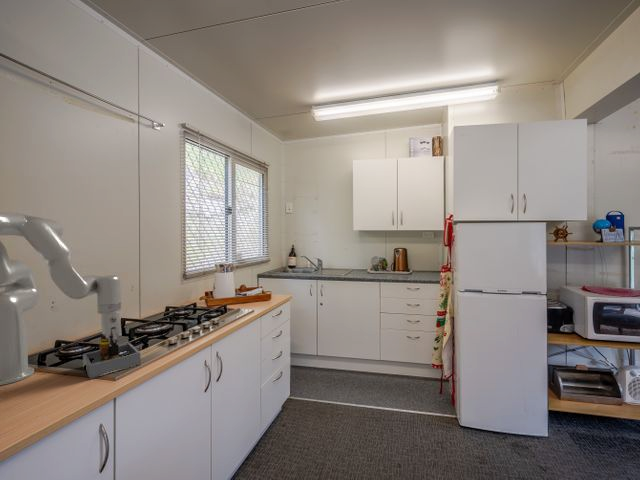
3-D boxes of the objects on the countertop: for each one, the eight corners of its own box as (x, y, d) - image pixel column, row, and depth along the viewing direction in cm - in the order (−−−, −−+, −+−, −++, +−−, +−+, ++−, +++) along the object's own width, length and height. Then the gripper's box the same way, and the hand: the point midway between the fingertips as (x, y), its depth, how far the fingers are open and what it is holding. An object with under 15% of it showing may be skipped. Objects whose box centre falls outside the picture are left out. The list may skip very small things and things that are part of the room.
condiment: (96, 369, 115) (95, 337, 115) (102, 361, 123) (101, 331, 123) (119, 366, 118) (118, 334, 118) (123, 358, 126) (122, 328, 126)
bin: (90, 379, 109) (89, 365, 109) (83, 366, 120) (82, 354, 120) (140, 365, 121) (140, 352, 120) (130, 354, 131) (129, 342, 131)
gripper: (126, 309, 116) (128, 356, 117) (115, 302, 128) (117, 344, 129) (102, 313, 111) (104, 362, 111) (93, 305, 123) (95, 349, 124)
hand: (111, 352), depth 120 cm, fingers open, 6 cm apart
